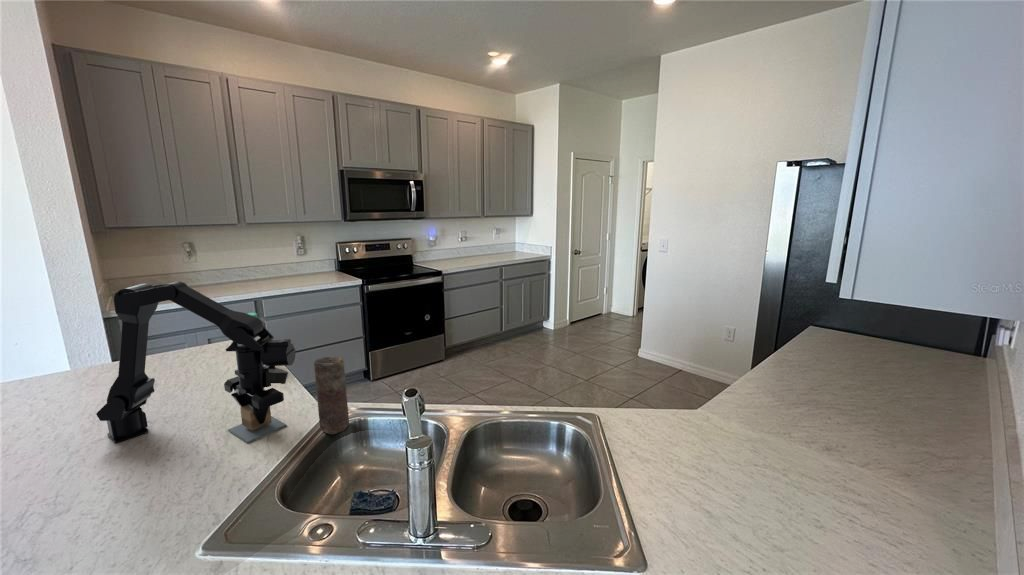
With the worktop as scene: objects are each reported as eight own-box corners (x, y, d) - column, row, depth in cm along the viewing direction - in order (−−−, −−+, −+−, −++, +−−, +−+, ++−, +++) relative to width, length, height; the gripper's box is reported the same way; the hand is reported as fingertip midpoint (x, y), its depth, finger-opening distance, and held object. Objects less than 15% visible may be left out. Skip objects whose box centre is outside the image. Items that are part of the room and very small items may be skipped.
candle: (313, 429, 110) (307, 360, 106) (336, 417, 116) (331, 351, 112) (332, 438, 107) (327, 366, 102) (355, 425, 113) (351, 356, 109)
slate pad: (247, 443, 103) (247, 441, 103) (228, 431, 108) (227, 429, 108) (286, 426, 111) (286, 424, 111) (267, 415, 117) (266, 413, 117)
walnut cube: (251, 430, 106) (250, 413, 105) (242, 424, 109) (240, 407, 108) (271, 422, 110) (269, 405, 109) (261, 416, 113) (260, 400, 112)
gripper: (301, 364, 108) (305, 418, 111) (263, 348, 118) (268, 398, 121) (256, 378, 99) (263, 437, 102) (220, 361, 108) (226, 414, 112)
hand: (256, 420), depth 109 cm, fingers closed on walnut cube, 5 cm apart
